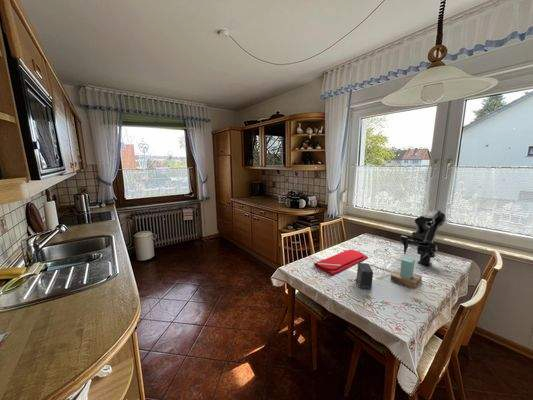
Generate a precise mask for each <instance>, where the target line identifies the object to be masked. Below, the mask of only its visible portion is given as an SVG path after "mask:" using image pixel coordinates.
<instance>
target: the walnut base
mask: <svg viewBox="0 0 533 400" xmlns="http://www.w3.org/2000/svg"><path fill="white" fill-rule="evenodd" d="M400 271H401V268H398V269H396V271H394V273H392V274H391V275H390V280H391V281H392V282H396V283H398V284H400V285H403V286H406V287H408V288H411V289H413V290H415V288H417V286H418V285H419V284H420V283H421V282H422V280H423V279H422V278H423V276H422V275H419V274H416V273H413V276H412V277H411V278H410V279H408V278H405V277H403V276H400Z"/></svg>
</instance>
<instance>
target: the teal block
mask: <svg viewBox="0 0 533 400" xmlns="http://www.w3.org/2000/svg"><path fill="white" fill-rule="evenodd" d="M400 263H401V264H400V269H401V271H400V276H403V277H405V278H408V279H410V278H411V277H412V276H413V274H414V270H415V269H414V267H415V263H416V260H415V259H412V258H409V257H404V258H402V259H401V262H400Z"/></svg>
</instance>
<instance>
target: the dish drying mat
mask: <svg viewBox="0 0 533 400" xmlns="http://www.w3.org/2000/svg"><path fill="white" fill-rule="evenodd" d="M368 258H369V256H367V255H366V254H364V253H362V252H361V251H358V250H354V249H347V250H343V251H342V252H339V253H337V254H334V255H331V256H330V257H326V258H323V259H322V260H319V261H316V262H314V263H313V265H314V267H315V268H316V269H317V270H319V271H321V272H323V273H325V274H327V275H329V276H335V275H336V274H340V273H341V272H343V271H346V270H348V269H350V268H351V267H353V266H355V265H358V263H362V262H364V260H366V259H368Z"/></svg>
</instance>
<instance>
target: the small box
mask: <svg viewBox="0 0 533 400" xmlns="http://www.w3.org/2000/svg"><path fill="white" fill-rule="evenodd" d="M373 276H374V271H373V269H372V267H371V265H370V263H364V262H359V263H357V271H356V280H357V285H358V287H359V289H363V290H364V289H365V290H372V288H373V286H372V285H373Z"/></svg>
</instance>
